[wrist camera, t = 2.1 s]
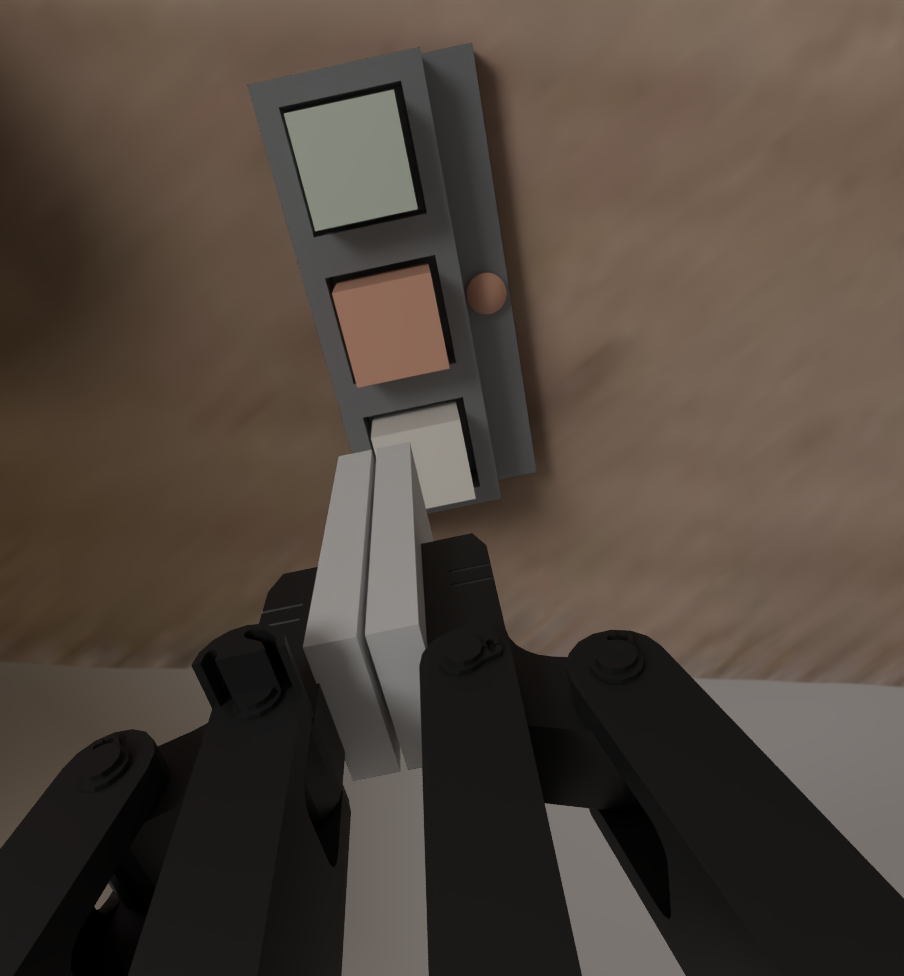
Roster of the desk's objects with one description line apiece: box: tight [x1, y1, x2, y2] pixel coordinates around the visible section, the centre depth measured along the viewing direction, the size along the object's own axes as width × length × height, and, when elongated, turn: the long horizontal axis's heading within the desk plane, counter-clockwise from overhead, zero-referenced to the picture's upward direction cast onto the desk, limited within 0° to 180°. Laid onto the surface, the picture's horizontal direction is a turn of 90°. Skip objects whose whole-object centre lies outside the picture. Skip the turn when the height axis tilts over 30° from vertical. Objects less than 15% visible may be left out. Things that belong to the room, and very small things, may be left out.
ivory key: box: [371, 400, 476, 509], centre depth 35 cm, size 4×4×3 cm
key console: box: [247, 43, 536, 514], centre depth 34 cm, size 10×21×4 cm, turn 11°
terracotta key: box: [332, 262, 449, 388], centre depth 32 cm, size 4×4×3 cm
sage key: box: [284, 90, 418, 231], centre depth 29 cm, size 4×4×3 cm
